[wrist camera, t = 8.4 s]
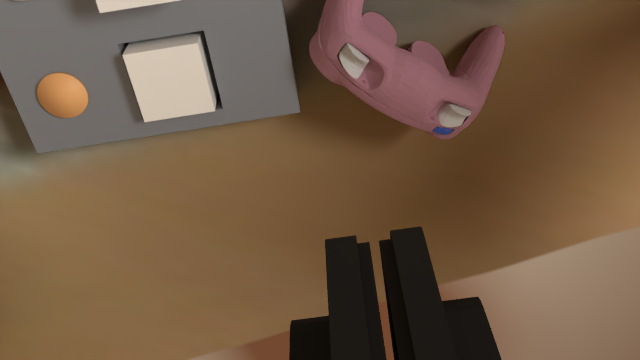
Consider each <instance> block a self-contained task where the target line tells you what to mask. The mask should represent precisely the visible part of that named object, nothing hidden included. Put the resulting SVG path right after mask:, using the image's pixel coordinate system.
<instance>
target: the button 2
mask: <svg viewBox="0 0 640 360" xmlns="http://www.w3.org/2000/svg"><path fill="white" fill-rule="evenodd" d="M122 56H123V59H124V62H125V65H126V68H127V71H128V74H129V77H130V80H131V83H132V86H133V89H134V92H135V95H136V98H137V101H138V104H139V107H140V110H141V113H142V116H143V119H144V122H150V121H156V120H163V119H169V118H175V117H182V116H188V115H194V114H201V113H207V112H213V111H215V108H216V102H217V95H218V86H217V82H216V78H215V74H214V70H213V66H212V62H211V58H210V54H209V49H208V45H207V41H206V37H205V33H204V31H197V32H191V33H185V34H178V35H172V36H166V37H159V38H153V39H147V40H140V41H134V42H129V44H128V46H127V47H126V49H125V51H124V53H123V55H122Z"/></svg>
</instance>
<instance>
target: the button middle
mask: <svg viewBox="0 0 640 360" xmlns="http://www.w3.org/2000/svg"><path fill="white" fill-rule="evenodd" d="M173 1H180V0H96V3H97V6H98V9H99V12H100V13H104V12H110V11H117V10H123V9H129V8H135V7H142V6H148V5H154V4H161V3H167V2H173Z"/></svg>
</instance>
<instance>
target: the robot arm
mask: <svg viewBox="0 0 640 360" xmlns="http://www.w3.org/2000/svg"><path fill="white" fill-rule="evenodd" d="M390 238H391V239H388V240H380V241H379V245H380V253H381V261H382V269H383V276H384V284H385V292H386V300H387V307H388V315H389V323H390V331H391V338H392V347H393V353H394V360H501V357H500V354H499V351H498V348H497V345H496V343H495V340H494V337H493V334H492V331H491V328H490V325H489V322H488V320H487V316H486V313H485V311H484V308H483V305H482V303H481V300H480V299H479V298H478V297H472V298H464V299H456V300H448V301H442V300H441V297H440V293H439V289H438V285H437V282H436V278H435V274H434V271H433V267H432V263H431V260H430V256H429V252H428V248H427V245H426V241H425V237H424V234H423V230H422V228H421V227H414V228H407V229H399V230H392V231H390ZM325 249H326V269H327V289H328V308H329V316H323V317H316V318H308V319H300V320H292V321H291V325H290V357H289V360H386V354H385V346H384V340H383V333H382V326H381V320H380V312H379V306H378V299H377V292H376V285H375V278H374V272H373V265H372V258H371V251H370V244H369V242H366V243H358V244H357V239H356V235H355V236H348V237H341V238H333V239H326V240H325Z"/></svg>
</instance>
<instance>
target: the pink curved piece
mask: <svg viewBox="0 0 640 360" xmlns="http://www.w3.org/2000/svg"><path fill="white" fill-rule="evenodd" d="M363 2H364V0H326V2H325V5H324V8H323V12H322V15H321V19H320V22H319V25H318V29H317V32H316V33H315V34H314V36H313V37H312V38H311V41H310V44H309V52H310V56H311V59H312V61H313V62H314V64H315V66H316V67H317V68H318V70H319V71H320V72H321V73H322V74H323V75H324V76H325V77H326V78H327V79H328V80H330V81H331V82H333V83H335V84H337V85H340V86H344V87H346V88H347V89H348V90H349V91H350V92H352V93H353V94H354V95H356V96H357V97H358V98H360V99H361V100H362V101H364V102H365V103H367V104H368V105H370V106H371V107H373V108H375V109H376V110H378V111H380V112H381V113H383V114H385V115H387V116H388V117H391V118H393V119H395V120H397V121H399V122H401V123H404V124H406V125H409V126H412V127H414V128H417V129H421V130H425V131H426V132H428V133H429V134H431V135H432V136H434V137H437V138H439V139H451V138H453V137H455V136H456V135H457V134H459V133H460V132H461V131H462V130H464V129H465V128H466V127H467V126H469V125H470V124H471V123H472V121H473V120H474V119H475V117H476V116H477V115H478V114H479V112H480V110H481V109H482V107H483V105H484V103H485V100H486V98H487V95H488V93H489V90H490V87H491V85H492V82H493V80H494V77H495V74H496V72H497V69H498V66H499V64H500V61H501V59H502V55H503V52H504V49H505V34H504V31H503V30H502V28H501V27H499V26H497V25H494V26H491V27H489V28H487V29H485V30H484V31H483V32H482V33H480V34H479V35H478V36H477V37H476V38H475V40H474V41H473V42H472V43H471V44H470V45H469V47H468V49H467V50H466V52H465V54H464V55H463V57H462V58H461V60H460V62H459V63H458V65H457V67H456V69H455V71H454V73H453V74H450V73H449V71H448V69H447V67H446V64H445V62H444V59H443V57H442V55H441V53H440V52H439V50H438V49H436V48H435V47H434V46H433V45H431V44H430V43H428V42H425V41H416V42H414V43H413V44H412V45H411V46H410V47H409V48H408V49H407V50H404V49H401V48H399V47H397V46H395V44H396V42H397V34H396V31H395V29H394V27H393V26H392V25H391V23H390V22H389V21H388V20H387V19H385V18H384V17H383V16H382V15H380V14H377V13H375V12H367V13H365V14H364V15H363V16H362V8H363Z"/></svg>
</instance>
